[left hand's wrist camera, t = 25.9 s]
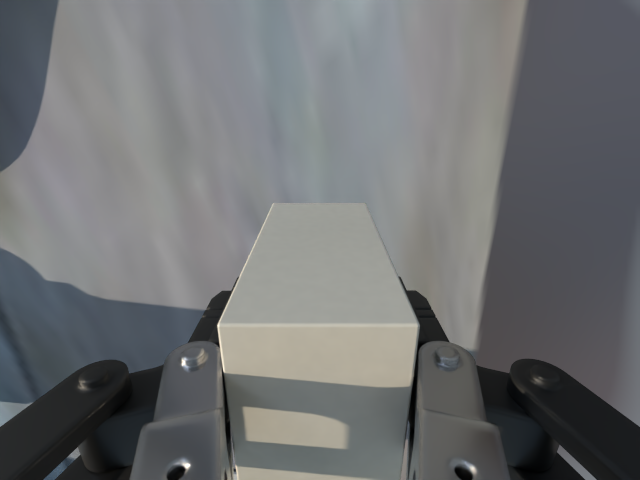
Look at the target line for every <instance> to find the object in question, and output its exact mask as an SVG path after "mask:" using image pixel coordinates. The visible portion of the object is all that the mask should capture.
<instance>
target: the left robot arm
mask: <svg viewBox="0 0 640 480" xmlns="http://www.w3.org/2000/svg"><path fill="white" fill-rule="evenodd" d="M238 279H239V277H238V278H237V280H236V282H235V284H234V286H233V288H232V291H221V292H220V293H219V294H217V295H216V296H215V297H214V298H212V299H211V301H210V303H209V305H208V307H207V310H205V312H204V314H203V316H202V318H201V320H200V321H199V323H198V325H197V327H196V329H195V331H194V332H193V334H192V336H191V338H190V340H189V342H188V343H187V344H184V345H182V346H180V347H178V348H176V349H175V350H173V351H172V352H171V353H170V354H169V355H168V356H167V358H166V360H165V362H164V365H162V366H159V367H156V368H152V369H148V370H143V371H139V372H134V373H130V374H129V371H128V368H127V366H126V364H125V363H123V362H121V361H118V360H104V361H99V362H95V363H92V364H89V365H87V366H85V367H83V368H81V369H79V370H78V371H76V372H75V373H73V374H72V375H70V376H69V377H68V378H66V379H65V380H64V381H62V382H61V383H59V384H58V385H57V386H55V387H54V388H53V389H51V390H50V391H49V392H47V393H46V394H45V395H43V396H42V397H40V398H39V399H38V400H36V401H35V402H34V403H32V404H31V405H30V406H28V407H27V408H25V409H24V410H23V411H21V412H20V413H19V414H17V415H16V416H15V417H13V418H12V419H11V420H9V421H8V422H6V423H5V424H4V425H2V426H1V427H0V480H43V479H44V478H45V477H46V476H47V475H48V474H50V473H51V472H52V471H53V470H54V469H55V468H56V467H57V466H58V465H59V464H60V463H61V462H62V461H63V460H64V459H65V458H66V457H67V456H69V455H70V454H71V453H72V452H73V451H74V450H75V449H76V448H77V447H78V449H79V451H80V454H81V455H80V456H79V457H78V458H77V459H76V460H75V461H74V462H73V463H72V464H71V465H70V466H68V467H67V468H66V469H65V470H64V471H63V472H62V473H61V474H60V475H59V476H58V477H57V478H56V479H55V480H234V473H233V452H232V434H231V426H230V419H229V411H228V404H227V396H226V388H225V381H224V373H223V365H222V358H221V350H220V343H219V335H218V327H217V325H218V322H219V320H220V318H221V316H222V314H223V312H224V309H225V307H226V305H227V303H228V301H229V299H230V296H231V294H232V292H233V290H234V288H235V285H236V283H237V281H238ZM399 279H400V281H401V284H402V286H403V288H404V290H405V293H406V295H407V297H408V299H409V302H410V304H411V306H412V308H413V311H414V313H415V315H416V317H417V320H418V322H419V324H420V330H419V337H418V345H417V353H416V361H415V369H414V377H413V384H412V392H411V400H410V408H409V416H408V420H409V431H408V452H407V473H406V480H585V479H584V478H583V477H582V476H581V475H580V474H579V473H578V472H577V471H576V470H575V469H573V467H572V466H570V465H569V464H568V463H567V462H566V461H565V460H564V459H563V458H562V457H561V456H560V455H559V454H558V453H557V450H558V447H559V444H560V445H561V446H562V447H563V448H564V449H565V450H566V451H567V452H568V453H569V454H570V455H571V456H572V457H574V458H575V459H576V460H577V461H578V462H579V463H580V464H581V465H582V466H583V467H584V468H585V469H586V470H587V471H588V472H589V473H590V474H592V475H593V476H594V477H595V478H596V479H597V480H640V427H639V426H638V425H636V424H635V423H634V422H632V421H631V420H629V419H628V418H627V417H625V416H624V415H623V414H621V413H620V412H619V411H617V410H616V409H614V408H613V407H612V406H610V405H609V404H608V403H606V402H605V401H604V400H602V399H601V398H600V397H598V396H597V395H595V394H594V393H593V392H591V391H590V390H589V389H587V388H586V387H585V386H583V385H582V384H581V383H579V382H578V381H576V380H575V379H574V378H572V377H571V376H570V375H568V374H567V373H566V372H564V371H563V370H561V369H559V368H558V367H556V366H554V365H552V364H549V363H546V362H544V361H540V360H535V359H521V360H518V361H516V362H514V363H513V364H512V366H511V369H510V373H505V372H500V371H496V370H491V369H487V368H483V367H480V366H477V365H476V362H475V360H474V358H473V356H472V355H471V354H470V353H469V352H468V351H467V350H465V349H464V348H462V347H460V346H458V345H456V344H453V343H450V342H449V340H448V338H447V336H446V335H445V333H444V331H443V329H442V327H441V325H440V323H439V322H438V320H437V318H436V317H435V314H434V312H433V310H431V307H430V305H429V303H428V301H427V299H426V298H425V297H424V296H422V295H421V294H420V293H418V292H417V291H407V290H406V288H405V286H404V284H403V282H402V279H401V277H399Z"/></svg>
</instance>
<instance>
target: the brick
mask: <svg viewBox="0 0 640 480" xmlns="http://www.w3.org/2000/svg"><path fill="white" fill-rule="evenodd" d="M217 327H218V335H219V343H220V350H221V358H222V365H223V373H224V381H225V388H226V396H227V404H228V411H229V419H230V426H231V434H232V442H233V449H234V457H235V465H236V472H237V480H400V479H401V471H402V463H403V455H404V447H405V439H406V432H407V424H408V416H409V408H410V400H411V392H412V384H413V377H414V369H415V361H416V353H417V345H418V337H419V330H420V324H419V322H418V320H417V317H416V315H415V313H414V311H413V308H412V306H411V304H410V302H409V299H408V297H407V295H406V293H405V290H404V288H403V286H402V284H401V281H400V279H399V277H398V275H397V272H396V270H395V268H394V266H393V263H392V261H391V259H390V257H389V254H388V252H387V250H386V248H385V245H384V243H383V241H382V239H381V236H380V234H379V232H378V230H377V227H376V225H375V223H374V221H373V218H372V216H371V214H370V212H369V209H368V207H367V205H366V203H273V205H272V207H271V209H270V211H269V213H268V216H267V218H266V220H265V222H264V224H263V227H262V229H261V231H260V233H259V235H258V237H257V240H256V242H255V244H254V246H253V248H252V251H251V253H250V255H249V257H248V259H247V261H246V264H245V266H244V268H243V270H242V272H241V275H240V277H239V279H238V281H237V283H236V285H235V288H234V290H233V292H232V294H231V296H230V299H229V301H228V303H227V305H226V307H225V309H224V312H223V314H222V316H221V318H220V320H219V322H218V325H217Z"/></svg>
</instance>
